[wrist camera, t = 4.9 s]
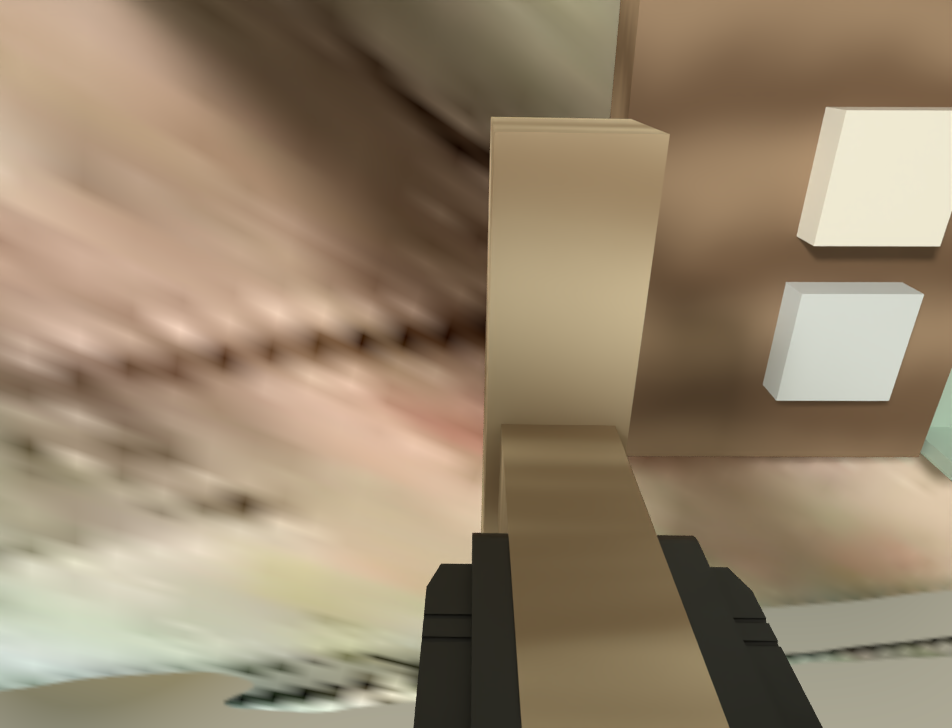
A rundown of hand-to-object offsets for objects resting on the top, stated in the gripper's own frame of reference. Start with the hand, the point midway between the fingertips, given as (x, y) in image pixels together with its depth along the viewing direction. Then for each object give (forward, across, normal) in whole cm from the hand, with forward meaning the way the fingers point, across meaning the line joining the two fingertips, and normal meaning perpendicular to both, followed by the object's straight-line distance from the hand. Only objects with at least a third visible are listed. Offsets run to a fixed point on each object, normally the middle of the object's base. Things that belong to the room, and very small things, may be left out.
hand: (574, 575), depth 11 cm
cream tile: (+18, -14, -4) cm, 23 cm away
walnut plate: (+21, -12, -1) cm, 25 cm away
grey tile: (+18, -14, +3) cm, 23 cm away
